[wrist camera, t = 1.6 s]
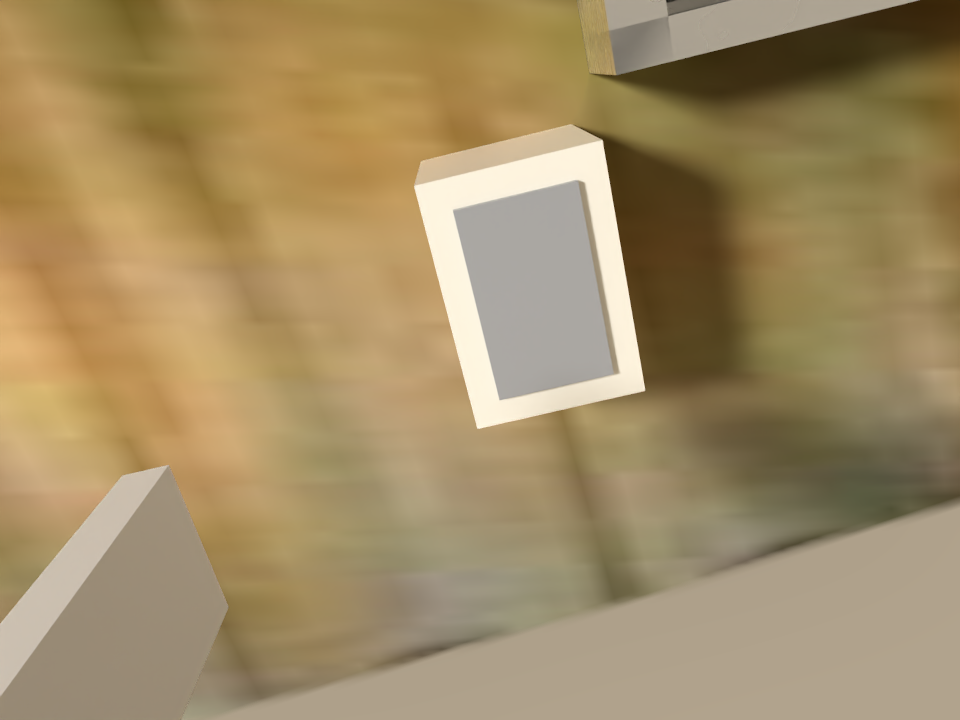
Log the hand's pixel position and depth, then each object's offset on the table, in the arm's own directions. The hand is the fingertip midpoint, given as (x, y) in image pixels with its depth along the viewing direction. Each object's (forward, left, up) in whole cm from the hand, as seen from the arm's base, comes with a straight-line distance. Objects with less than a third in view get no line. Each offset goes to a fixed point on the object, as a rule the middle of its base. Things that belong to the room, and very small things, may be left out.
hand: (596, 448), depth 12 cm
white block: (0, 0, -13) cm, 13 cm away
